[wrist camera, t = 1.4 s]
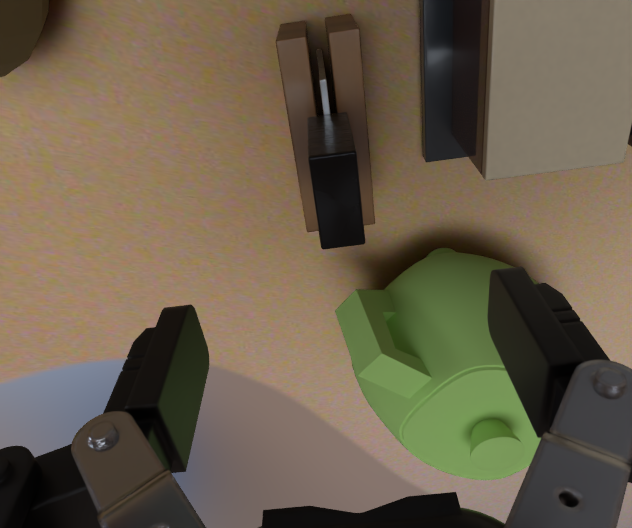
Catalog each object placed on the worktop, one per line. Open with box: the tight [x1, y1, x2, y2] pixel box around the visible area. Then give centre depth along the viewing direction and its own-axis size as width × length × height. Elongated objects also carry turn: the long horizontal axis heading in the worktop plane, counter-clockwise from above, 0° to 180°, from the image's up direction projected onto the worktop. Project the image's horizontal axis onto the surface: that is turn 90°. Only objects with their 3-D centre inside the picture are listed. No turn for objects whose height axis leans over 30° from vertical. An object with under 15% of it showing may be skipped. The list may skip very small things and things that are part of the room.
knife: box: [307, 49, 365, 249], centre depth 25 cm, size 7×2×12 cm, turn 8°
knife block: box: [276, 14, 375, 232], centre depth 28 cm, size 10×4×5 cm, turn 8°
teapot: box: [335, 248, 541, 480], centre depth 33 cm, size 20×13×13 cm
